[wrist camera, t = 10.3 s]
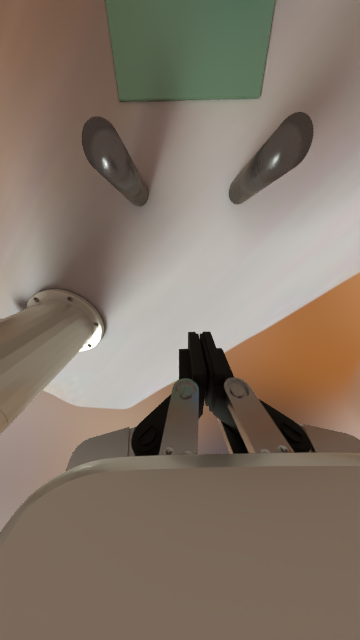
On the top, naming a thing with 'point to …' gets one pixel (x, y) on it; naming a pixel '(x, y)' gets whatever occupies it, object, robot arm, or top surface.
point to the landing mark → (189, 48)
